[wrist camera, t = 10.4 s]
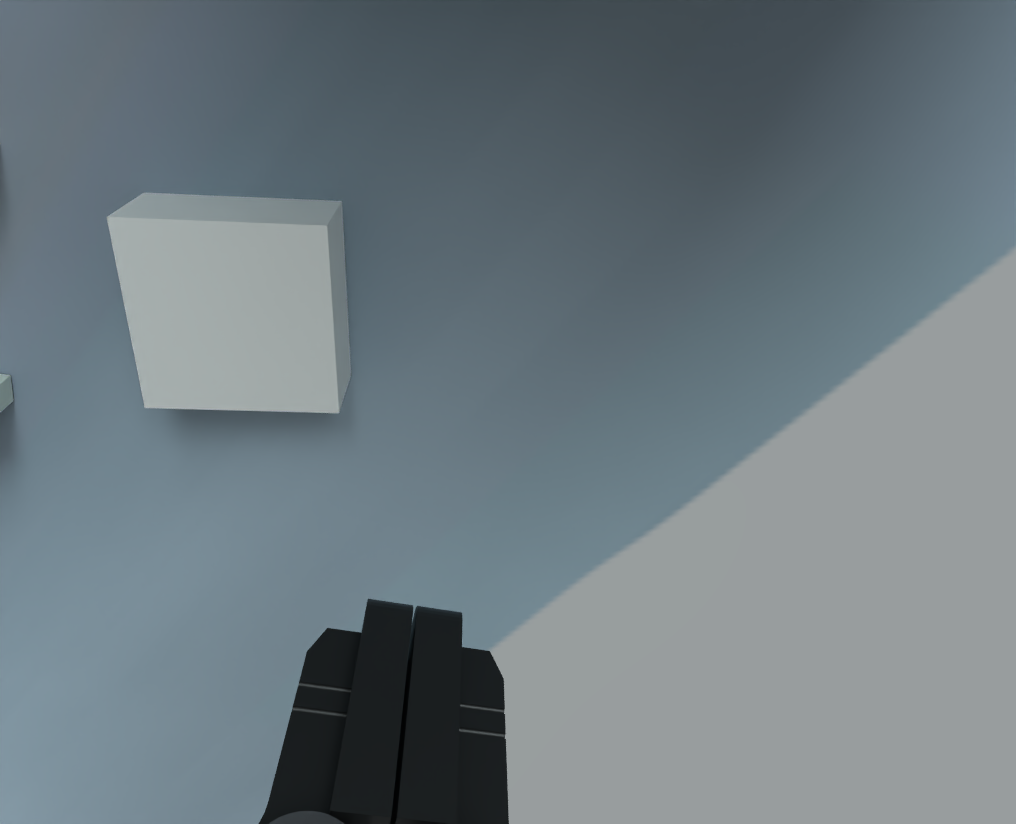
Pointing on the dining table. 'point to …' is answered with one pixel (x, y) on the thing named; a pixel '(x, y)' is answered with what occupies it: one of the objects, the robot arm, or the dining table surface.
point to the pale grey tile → (235, 301)
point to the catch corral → (5, 391)
